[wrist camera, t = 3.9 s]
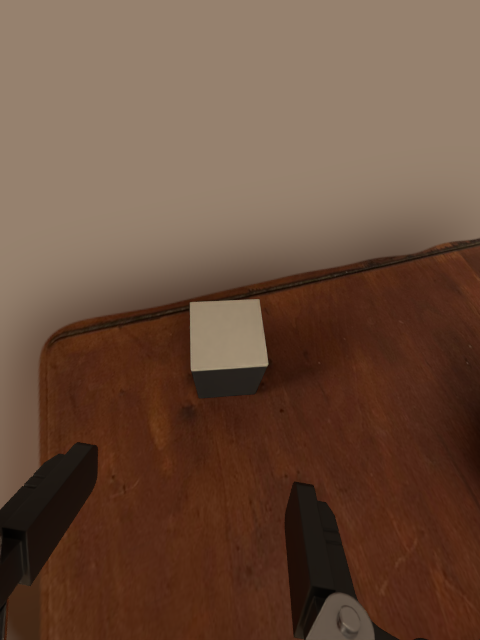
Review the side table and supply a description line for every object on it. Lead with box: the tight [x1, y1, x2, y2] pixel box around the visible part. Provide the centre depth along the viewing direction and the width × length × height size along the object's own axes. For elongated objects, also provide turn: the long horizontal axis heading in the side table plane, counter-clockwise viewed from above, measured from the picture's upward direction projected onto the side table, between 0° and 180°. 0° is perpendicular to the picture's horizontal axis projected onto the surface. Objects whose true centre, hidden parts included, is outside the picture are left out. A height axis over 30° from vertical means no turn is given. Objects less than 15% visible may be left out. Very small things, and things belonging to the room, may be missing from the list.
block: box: [190, 299, 268, 398], centre depth 23 cm, size 5×5×8 cm
